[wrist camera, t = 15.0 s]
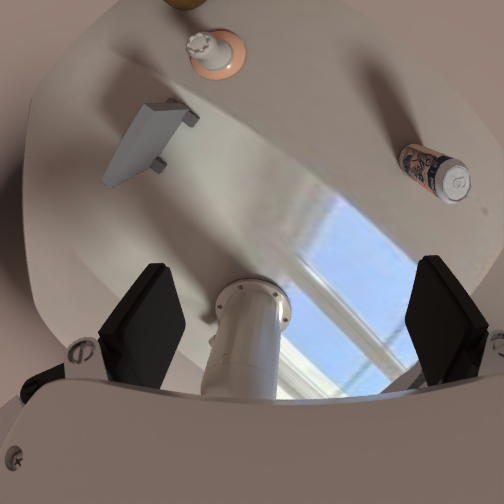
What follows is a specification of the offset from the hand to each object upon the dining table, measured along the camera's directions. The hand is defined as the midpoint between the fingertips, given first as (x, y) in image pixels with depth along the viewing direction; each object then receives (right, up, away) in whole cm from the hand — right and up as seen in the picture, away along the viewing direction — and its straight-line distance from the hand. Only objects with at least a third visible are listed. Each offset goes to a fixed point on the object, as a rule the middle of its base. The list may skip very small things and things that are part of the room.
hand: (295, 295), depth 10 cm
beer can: (+20, +14, +22) cm, 33 cm away
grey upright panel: (-13, +17, +25) cm, 33 cm away
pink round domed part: (-6, +26, +19) cm, 33 cm away
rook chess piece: (-6, +26, +19) cm, 32 cm away
